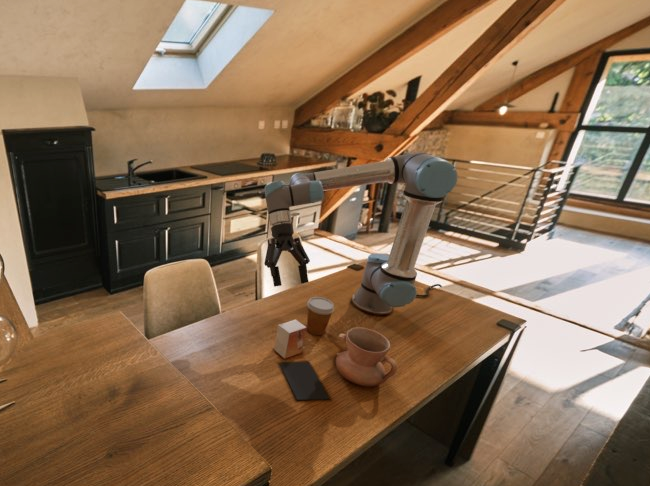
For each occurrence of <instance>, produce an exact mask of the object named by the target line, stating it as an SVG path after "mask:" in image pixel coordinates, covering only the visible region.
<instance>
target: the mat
mask: <svg viewBox="0 0 650 486" xmlns="http://www.w3.org/2000/svg"><path fill="white" fill-rule="evenodd" d="M278 364H279V366H280V368H281V370H282V372H283V374H284V376H285V379H286V381H287V383H288V385H289V388H290V389H291V391H292V393H293V395H294V397H295V400H296V401H319V400H320V401H321V400H331V398H330V396H329V394H328V392H327V390H326V389H325V387H324V386H323V384H322V382H321V380H320V379H319V377H318V375H317V373H316V372H315V370H314V368H313V367H312V365H311V363H310V362H309V361H294V362H293V361H292V362H291V361H288V362H279V363H278Z"/></svg>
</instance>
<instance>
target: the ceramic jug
mask: <svg viewBox="0 0 650 486" xmlns="http://www.w3.org/2000/svg"><path fill="white" fill-rule="evenodd" d="M338 338H339V339H341V340H343V341H344V342H345V344H346V347H347V350H343V351H341V352H338V353H336V358H335V367H336V369H337V371H338V372H339V374H340V375H341V376H342V378H344V379H345V380H347V381H349V382H351V383H352V384H354V385H358V386H362V387H377V386H380V385H381V384H383V383H385V382H386V381H387V380H388V379H389V378H391V377H393V376H394V375H395V374H396V373H397V370H398V366H397V362H396V361H395V360H394V359H393V358H391V357H388V356H386V355H387V354H388V352H389V351H390V348H391V343H390V340H389V339H388V338H386V336H385V335H383V334H382V333H381V332H378V331H377V330H374V329H372V328H371V329H370V328H367V327H360V326H356V327H352V328H350V329H348V330H347V331H346V334H345V333H340V334H339V335H338ZM383 363H388V364H389V365H390V368H391V369H390V370H389V371H388V372H386V369H385V366H384V365H383Z"/></svg>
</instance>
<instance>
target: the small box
mask: <svg viewBox="0 0 650 486" xmlns="http://www.w3.org/2000/svg"><path fill="white" fill-rule="evenodd" d="M306 333H307V326H306V325H304V324H303V323H301V322H300V321H299V320H297V319H293V320H290V321H287V322H283V323H280V324H277V330H276V335H275V341H274V347H273V351H275V352H276V353H277V354H278V355H280V356H281V357H282V358H283V359H288V358H290V357H293V356H296V355H300V354H302V353H303V348H304V344H305V338H306Z"/></svg>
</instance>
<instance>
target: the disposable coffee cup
mask: <svg viewBox="0 0 650 486" xmlns="http://www.w3.org/2000/svg"><path fill="white" fill-rule="evenodd" d="M306 302H307V303H306V305H307V316H306V317H307V318H306V327H307V329H306V331H307V332H309V333H310V334H312V335H315V336H323V335H324V334H325V332H326V330H327V327H328V324H329V321H330V319H331V317H332V315H333V313H334V311H335V305H334V303H333V302H332V301H331V300H330V299H328V298H325V297H321V296H312V297H311V298H309V300H308V301H306Z"/></svg>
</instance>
